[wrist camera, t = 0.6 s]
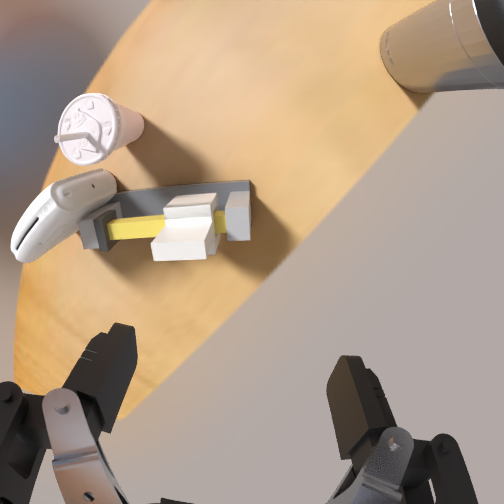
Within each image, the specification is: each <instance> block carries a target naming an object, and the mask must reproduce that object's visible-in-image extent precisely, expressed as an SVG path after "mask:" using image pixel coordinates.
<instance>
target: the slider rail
mask: <svg viewBox="0 0 504 504" xmlns="http://www.w3.org/2000/svg"><path fill="white" fill-rule="evenodd" d="M207 193H217V200H218V211H214V212H213V218H214V228H215V234H216V233H227V241H243V240H250V235H251V227H252V221H251V202H250V184H249V180H239V181H223V182H209V183H196V184H185V185H174V186H165V187H155V188H147V189H138V190H130V191H123V192H117V193H116V194H115V195H114V196H113V197H112V199H111V200H110V201H109V202H108V203H107V204H105V205H104V206H102V207H100V208H98V209H97V210H95V211H93V212H91V213H90V214H88V215H86V216H85V217H83V218H82V219H80V220H79V221H77V223H78V227H79V231H80V236H81V240H82V243H83V247H84V249H95V248H99V249H100V251H109V250H110V249H111V248H112V247H113V246H114V245H115V244H116V243H117V242H118V241H119V240H120V239H133V238H148V237H156V236H157V235H158V234H159V233H160V231H161V230H162V229H163V228H164V227H165V226H166V224H165V218H164V211H163V208H164V207H165V206H166V205H167V204H168V203H169V202H170V201H171V200H172V199H174V198H175V197H176V196H181V195H193V194H207Z"/></svg>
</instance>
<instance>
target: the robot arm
mask: <svg viewBox="0 0 504 504" xmlns="http://www.w3.org/2000/svg"><path fill="white" fill-rule="evenodd" d="M380 52H381V57H382V60H383V62H384V65H385V67H386V68H387V70H388V72H389V73H390V75H391V76H392V77H393V78H394V79H395V80H396V81H397V82H398V83H399V84H400V85H401V86H403V87H405V88H406V89H408V90H410V91H413V92H417V93H431V92H442V91H455V90H474V89H504V0H436V1H434V2H432V3H430V4H428V5H427V6H425V7H423V8H421V9H419V10H418V11H416V12H414V13H412V14H411V15H409V16H407V17H406V18H404V19H402V20H400V21H399V22H397V23H396V24H394V25H392V26H391V27H389V28H388V29H387V30H386V31H385V32H384V34H383V35H382V38H381V42H380ZM137 358H138V354H137V345H136V335H135V328H134V327H133V326H129V325H125V324H120V323H114V324H113V326H112V327H111V329H110V331H109V332H108V334H106V333H103V332H101V333H99V334H98V335H97V336H95V337H94V338H92V339H91V341H90V342H89V344H88V345H87V347H86V348H85V351H84V352H83V353H82V355H81V358H79V360H78V361H77V363H76V365H75V366H74V368H73V370H72V371H71V373H70V375H69V377H68V378H67V380H66V382H65V383H64V385H63V387H62V388H57V389H54V390H51V391H50V392H48V393H47V394H46V395H45V396H41V395H32V394H25V393H23V392H22V390H21V388H20V387H19V386H18V385H17V384H15V383H13V382H10V381H7V382H2V383H0V504H29V502H30V498H31V495H32V491H33V488H34V484H35V481H36V478H37V475H38V472H39V469H40V466H41V463H42V460H43V457H44V454H45V452H46V449H52V450H53V454H54V460H53V461H52V466H53V470H54V473H55V476H56V479H57V482H58V485H59V488H60V490H61V493H62V496H63V498H64V501H65V503H66V504H130V503H129V501H128V500H127V498H126V496H125V494H124V493H123V491H122V489H121V487H120V486H119V484H118V482H117V480H116V478H115V476H114V474H113V472H112V470H111V468H110V466H109V463H108V461H107V459H106V457H105V455H104V452H103V450H102V447H101V445H100V442H99V440H98V439H99V436H100V433H101V431H104V432H107V433H111V431H112V428H113V425H114V423H115V420H116V417H117V415H118V412H119V409H120V407H121V404H122V402H123V399H124V396H125V394H126V391H127V389H128V386H129V384H130V381H131V379H132V376H133V374H134V371H135V369H136V365H137ZM327 398H328V402H329V406H330V411H331V414H332V420H333V424H334V428H335V433H336V438H337V442H338V447H339V452H340V457H341V460H345V459H351V460H352V465H351V466H350V467H349V469H348V471H347V473H346V474H345V476H344V477H343V479H342V481H341V482H340V484H339V485H338V487H337V488H336V490H335V492H334V493H333V495H332V496H331V498H330V499H329V500H328V502H327V503H326V504H434V500H433V496H432V492H431V488H430V485H429V481H428V480H429V479H431V481H432V484H433V488H434V492H435V496H436V503H435V504H478V501H477V498H476V494H475V491H474V488H473V485H472V482H471V479H470V476H469V473H468V470H467V467H466V465H465V462H464V459H463V456H462V454H461V451H460V448H459V446H458V443H457V442H456V440H455V439H454V438H453V437H452V436H450V435H448V434H438V435H437V436H435V437H434V438H433V439H432V440H431V441H425V440H416V439H413V438H412V436H411V435H410V433H409V432H408V431H406V430H405V429H403V428H400V427H397V425H396V422H395V419H394V417H393V414H392V412H391V409H390V407H389V404H388V402H387V399H386V397H385V394H384V392H383V389H382V387H381V384H380V382H379V379H378V377H377V376H376V375H375V374H374V373H373V372H372V371H371V369H366V368H365V366H364V363H363V361H362V358H361V357H360V356H345V355H342V356H341V357H340V358H339V360H338V362H337V364H336V366H335V368H334V370H333V372H332V374H331V376H330V378H329V380H328V383H327ZM151 504H192V503H186V502H180V501H174V500H170V499H165V498H161V502H160V503H151Z"/></svg>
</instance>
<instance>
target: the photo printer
mask: <svg viewBox="0 0 504 504" xmlns="http://www.w3.org/2000/svg"><path fill="white" fill-rule="evenodd" d="M116 188H117V184H116V180H115V178H114V176H113V175H112V174H111V173H110V172H108V171H104V170H103V169H102V168H101V169H96V170H92V171H88V172H85V173H81V174H78V175H75V176H71V177H68V178H65V179H62V180H59V181H56V182H54V183H53V184H51V185H50V186H48V187H47V188H46V189H45V190H43V191H42V192H41V193H40V194H39V196H38V197H37V198H36V199H35V200H34V201H33V202H32V204H31V205H30V206H29V207H28V209H27V210H26V212H25V213H24V214H23V216H22V217H21V219H20V221H19V223H18V224H17V226H16V228H15V230H14V233H13V235H12V240H11V251H12V252H13V253H14V254H15V256H16V259H17V260H18V261H20V262H23V263H30V262H33V261H35V260H36V259H38V258H39V257H40V256H42V255H43V254H45V253H46V252H47V251H49V250H50V249H52V248H53V247H55V246H56V245H58V244H59V243H61V242H62V241H64V240H65V239H67V238H68V237H70V236H71V235H73V234H74V233H76V232H77V231H78V230H79V227H78V223H77V221H79V220H80V219H82V218H83V217H85V216H86V215H88V214H90V213H91V212H93V211H95V210H97V209H98V208H100V207H102V206H104V205H105V204H107V203H108V202H109V201H110V200H111V199H112V197H113V196H114V195H115V194H116V193H117V189H116Z"/></svg>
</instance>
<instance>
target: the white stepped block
mask: <svg viewBox="0 0 504 504" xmlns="http://www.w3.org/2000/svg"><path fill="white" fill-rule="evenodd" d="M163 211H164V218H165V224H166V226H165V227H164V228H163V229H162V230H161V231H160V233H159V234H158V235H157V236H156V238H155V239H154V240H153V241H152V242H151V249H152V254H153V259H154V261H170V260H195V259H207V256H208V255H215V254H216V251H217V248H218V244H219V241H220V237H221V233H216V234H215V228H214V218H213V212H214V211H218V200H217V193H207V194H193V195H181V196H176V197H175V198H174V199H172V200H171V201H170V202H169V203H168V204H167V205H166V206H165V207H164V208H163Z"/></svg>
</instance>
